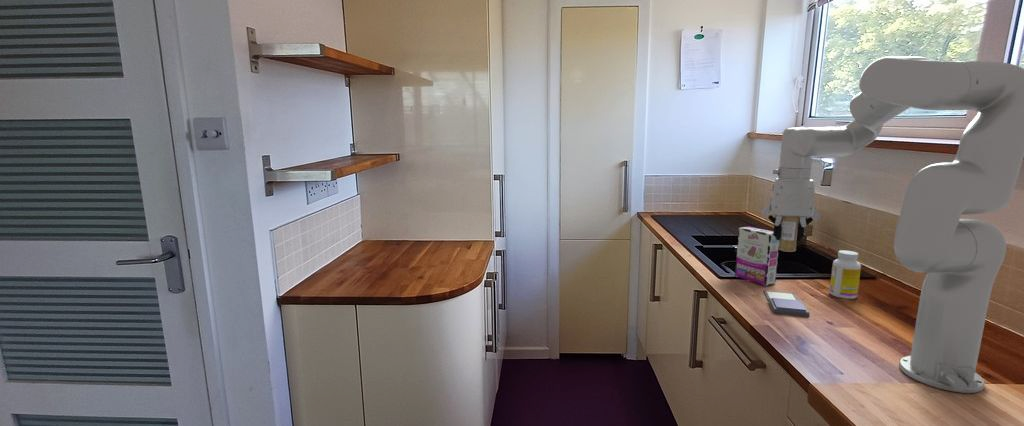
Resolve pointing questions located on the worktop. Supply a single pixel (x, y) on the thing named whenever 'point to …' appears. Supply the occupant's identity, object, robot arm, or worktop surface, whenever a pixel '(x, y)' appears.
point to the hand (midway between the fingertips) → (787, 238)
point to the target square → (779, 295)
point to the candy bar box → (757, 256)
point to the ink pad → (788, 307)
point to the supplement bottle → (845, 275)
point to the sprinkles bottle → (788, 233)
